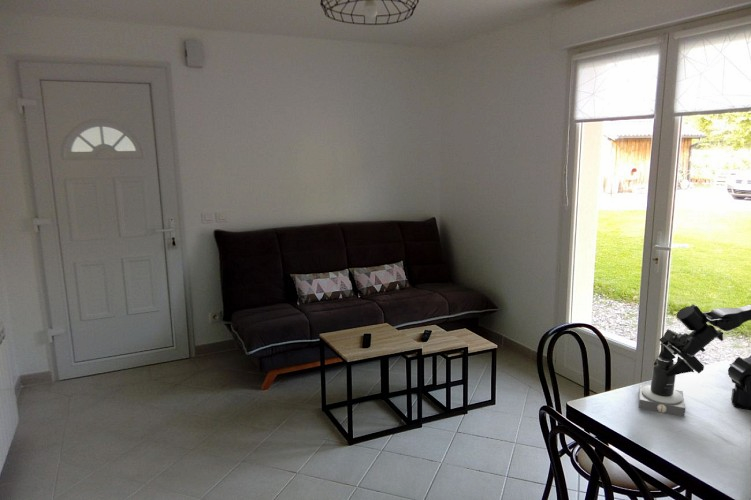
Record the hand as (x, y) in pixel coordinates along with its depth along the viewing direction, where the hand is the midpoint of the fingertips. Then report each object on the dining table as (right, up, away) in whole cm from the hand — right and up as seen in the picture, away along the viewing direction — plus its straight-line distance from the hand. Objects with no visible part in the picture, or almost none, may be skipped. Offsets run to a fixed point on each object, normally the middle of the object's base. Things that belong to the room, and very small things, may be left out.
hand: (660, 370), depth 173 cm
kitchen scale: (+1, -12, +2) cm, 12 cm away
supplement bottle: (+1, -8, +2) cm, 8 cm away
